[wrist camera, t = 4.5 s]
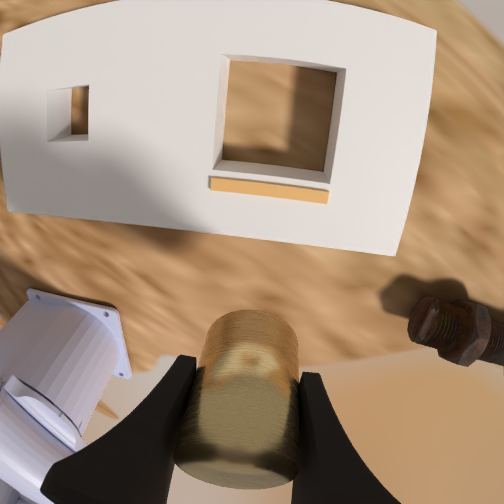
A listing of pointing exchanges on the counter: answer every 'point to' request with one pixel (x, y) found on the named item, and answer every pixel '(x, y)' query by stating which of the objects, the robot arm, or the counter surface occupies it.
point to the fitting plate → (214, 119)
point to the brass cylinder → (243, 405)
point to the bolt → (457, 331)
